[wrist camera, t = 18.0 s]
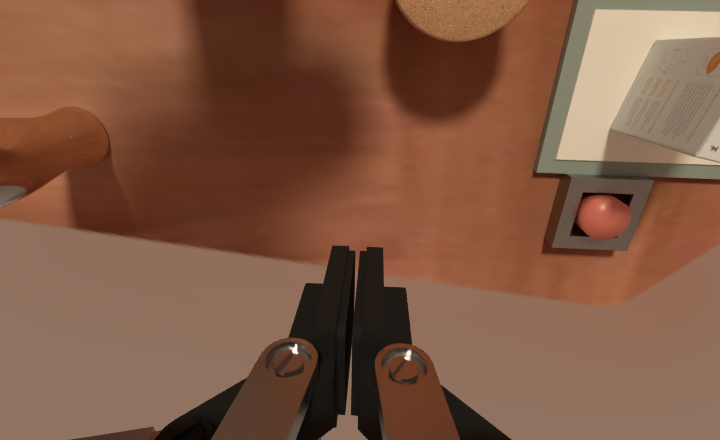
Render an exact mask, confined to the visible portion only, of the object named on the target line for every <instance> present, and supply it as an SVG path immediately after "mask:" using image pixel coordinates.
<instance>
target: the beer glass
mask: <svg viewBox="0 0 720 440" xmlns="http://www.w3.org/2000/svg"><path fill="white" fill-rule="evenodd" d="M108 149H109V140H108V136H107V133H106V131H105V129H104V127H103V126H102V124H101V123H100V122H99V121H98V120H97V119H96V118H95V117H94V116H93V115H91V114H90V113H89V112H87V111H85V110H83V109H80V108H77V107H63V108H59V109H57V110H55V111H53V112H51V113H49V114H46V115H44V116H40V117H33V118H0V208H2V207H4V206H7V205H10V204H12V203H14V202H16V201H18V200H21V199H23V198H25V197H27V196H29V195H30V194H32V193H34V192H35V191H37V190H39V189H40V188H42V187H43V186H45V185H46V184H48V183H49V182H50V181H52V180H53V179H55V178H56V177H58V176H59V175H61V174H62V173H64V172H65V171H67V170H69V169H71V168H74V167H78V166H85V165H91V164H95V163H98V162H100V161H101V160H102V159H104V157H105V156H106V155H107V153H108Z"/></svg>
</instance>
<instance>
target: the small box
mask: <svg viewBox="0 0 720 440" xmlns="http://www.w3.org/2000/svg"><path fill="white" fill-rule="evenodd" d="M611 130H613V131H616V132H620V133H623V134H626V135H629V136H632V137H635V138H638V139H641V140H645V141H647V142H650V143H653V144H656V145H659V146H662V147H665V148H668V149H671V150H674V151H677V152H680V153H683V154H686V155H689V156H693V157H697V158H701V159H705V160H710V161H714V162H718V163H720V37H705V38H685V39H667V40H656V41H655V43H654V45H653V47H652V49H651V51H650V53H649V55H648V57H647V59H646V60H645V62H644V64H643V66H642V68H641V70H640V72H639V74H638V76H637V78H636V80H635V82H634V84H633V86H632V88H631V90H630V92H629V94H628V95H627V97H626V99H625V101H624V103H623V105H622V107H621V109H620V111H619V113H618V115H617V117H616V119H615V121H614V123H613V125H612V127H611Z"/></svg>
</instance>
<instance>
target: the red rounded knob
mask: <svg viewBox="0 0 720 440" xmlns="http://www.w3.org/2000/svg"><path fill="white" fill-rule="evenodd" d="M630 221H631V211H630V209H629V207H628V206H627V205H626V204H625V203H623V202H621V201H620V200H618V199H617V198H615V197H614V196H612V195H610V194H609V193H590V192H588V193H586V194H584V195H583V196H582V197H581V200H580V204H579V207H578V210H577V213H576V217H575V220H574V223H575V224H576V225H577V226H578V227H580V228H581V229H582V230H583V231H584V232H585V233H586V234H587V235H589V236H590V237H591V238H593V239H596V240H608V239H612V238H614V237H616V236H618V235H620V234H621V233H622V232H623V231H624V230H625V229H626V228H627V227H628V225H629V223H630Z"/></svg>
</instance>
